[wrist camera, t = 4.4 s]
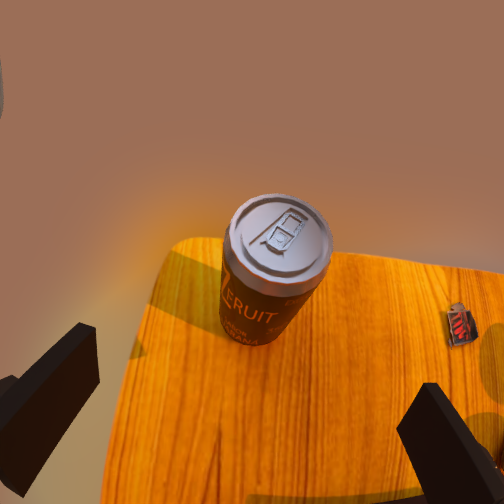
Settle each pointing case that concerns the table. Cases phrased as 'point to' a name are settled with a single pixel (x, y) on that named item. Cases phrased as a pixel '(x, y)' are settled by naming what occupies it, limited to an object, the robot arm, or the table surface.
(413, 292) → the table surface
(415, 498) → the socket pad
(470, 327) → the matchbox
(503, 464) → the apple
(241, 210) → the beer can
